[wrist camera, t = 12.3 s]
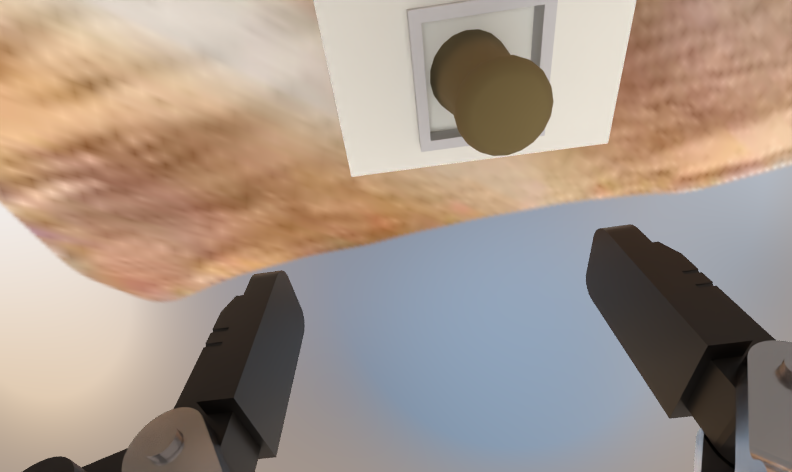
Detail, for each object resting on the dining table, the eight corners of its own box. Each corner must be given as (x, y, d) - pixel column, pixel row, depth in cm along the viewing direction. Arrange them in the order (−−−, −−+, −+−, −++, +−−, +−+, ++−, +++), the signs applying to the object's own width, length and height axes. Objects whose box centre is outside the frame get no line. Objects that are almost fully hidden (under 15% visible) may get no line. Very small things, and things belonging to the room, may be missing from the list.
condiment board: (312, -15, 25) (304, -16, 23) (639, -68, 24) (670, -74, 22) (352, 171, 33) (349, 187, 31) (600, 138, 32) (620, 151, 29)
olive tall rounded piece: (526, 52, 27) (598, 84, 18) (482, 127, 30) (525, 187, 21) (454, 12, 25) (492, 26, 16) (416, 95, 29) (430, 146, 19)
